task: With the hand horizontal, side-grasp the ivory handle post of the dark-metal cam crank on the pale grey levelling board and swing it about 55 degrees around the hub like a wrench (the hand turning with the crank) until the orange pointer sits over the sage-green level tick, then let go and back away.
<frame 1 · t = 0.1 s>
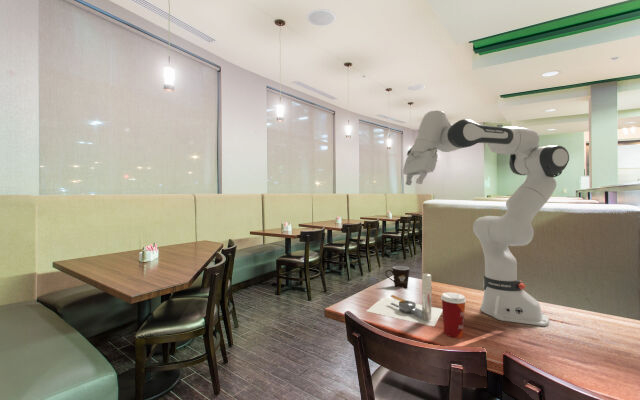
hand: (413, 184, 112), 52 cm above the table, tool tilted 20°, fingers open, 8 cm apart
coffee mug: (398, 286, 152), on the table
levelling board: (405, 313, 117), on the table
paper cup: (453, 337, 97), on the table
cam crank: (409, 290, 115), point 10 cm above the table, hinge at 0.0°
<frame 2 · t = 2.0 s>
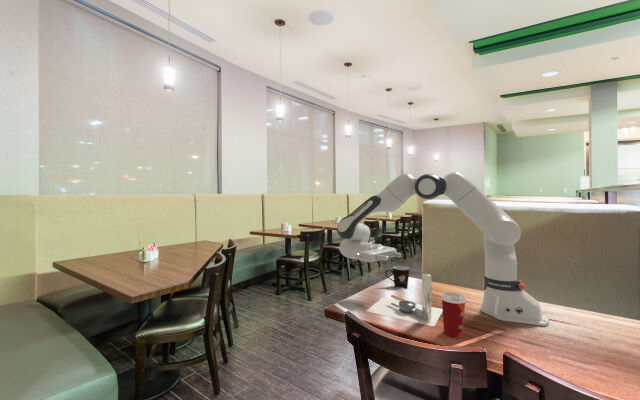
hand: (393, 256, 124), 21 cm above the table, tool horizontal, fingers open, 8 cm apart
nothing on the table moved.
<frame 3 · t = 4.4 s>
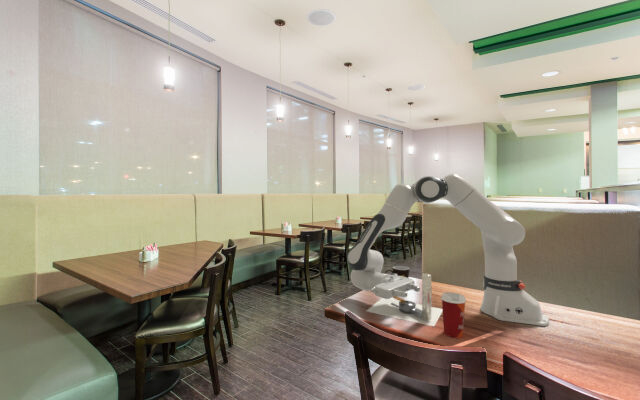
hand: (412, 292, 111), 10 cm above the table, tool horizontal, fingers open, 8 cm apart
nothing on the table moved.
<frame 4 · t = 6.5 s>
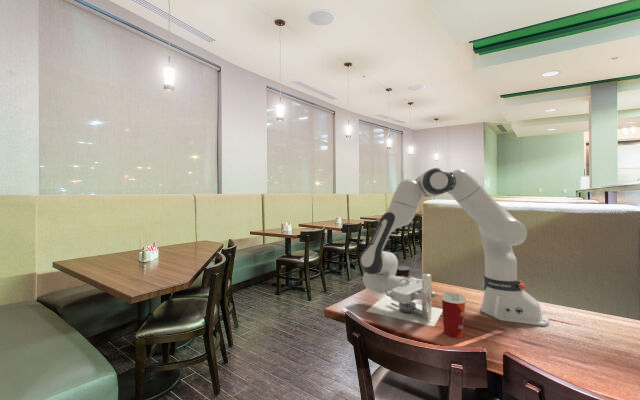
hand: (431, 296, 106), 11 cm above the table, tool horizontal, fingers closed on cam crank, 3 cm apart
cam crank: (409, 290, 115), point 10 cm above the table, hinge at 0.0°, touching gripper
everything else where it was.
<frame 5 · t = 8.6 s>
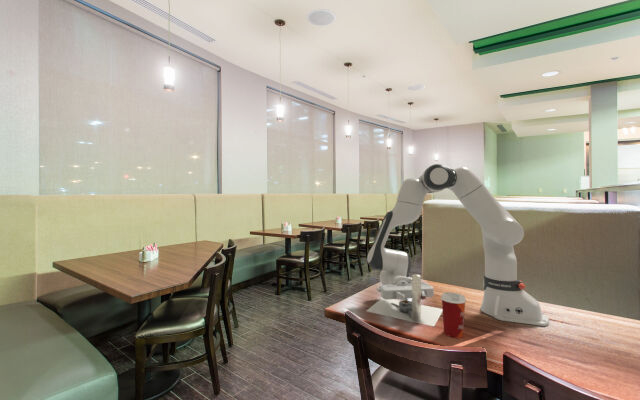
hand: (415, 298, 104), 10 cm above the table, tool horizontal, fingers open, 6 cm apart
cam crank: (408, 290, 115), point 10 cm above the table, hinge at -25.1°, touching gripper
everything else where it was.
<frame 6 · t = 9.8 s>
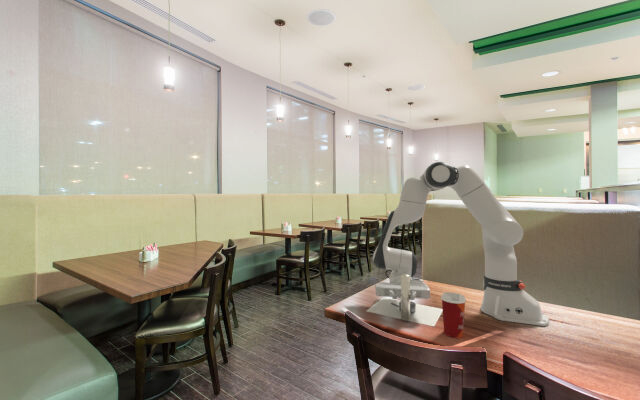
hand: (403, 297, 105), 10 cm above the table, tool horizontal, fingers open, 5 cm apart
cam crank: (407, 290, 115), point 10 cm above the table, hinge at -47.5°, touching gripper
everything else where it was.
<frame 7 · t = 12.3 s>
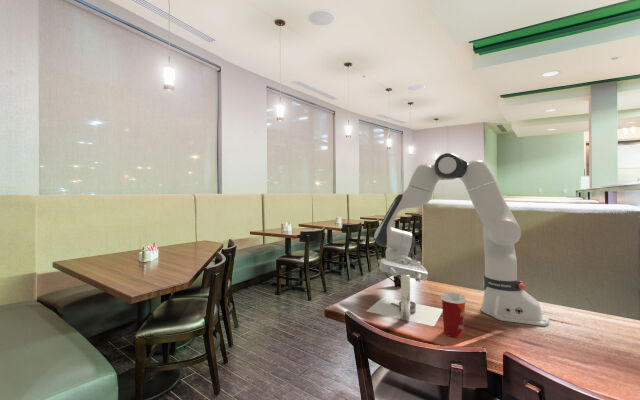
hand: (407, 277, 116), 15 cm above the table, tool horizontal, fingers open, 8 cm apart
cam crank: (407, 290, 115), point 10 cm above the table, hinge at -47.5°
everything else where it was.
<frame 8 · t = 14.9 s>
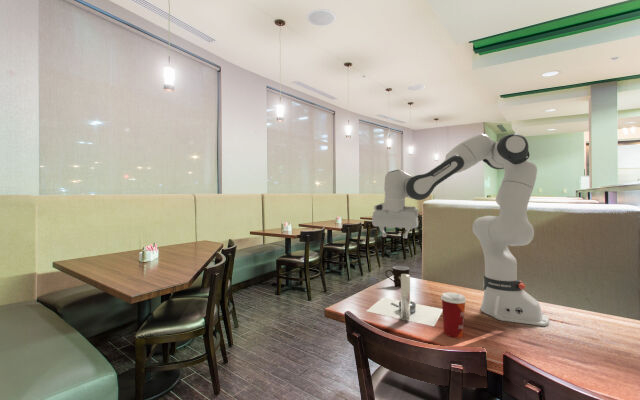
hand: (394, 237, 129), 29 cm above the table, tool pointing down, fingers open, 8 cm apart
nothing on the table moved.
at the end: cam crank at -48° (first picture: +0°); the gripper is holding nothing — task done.
